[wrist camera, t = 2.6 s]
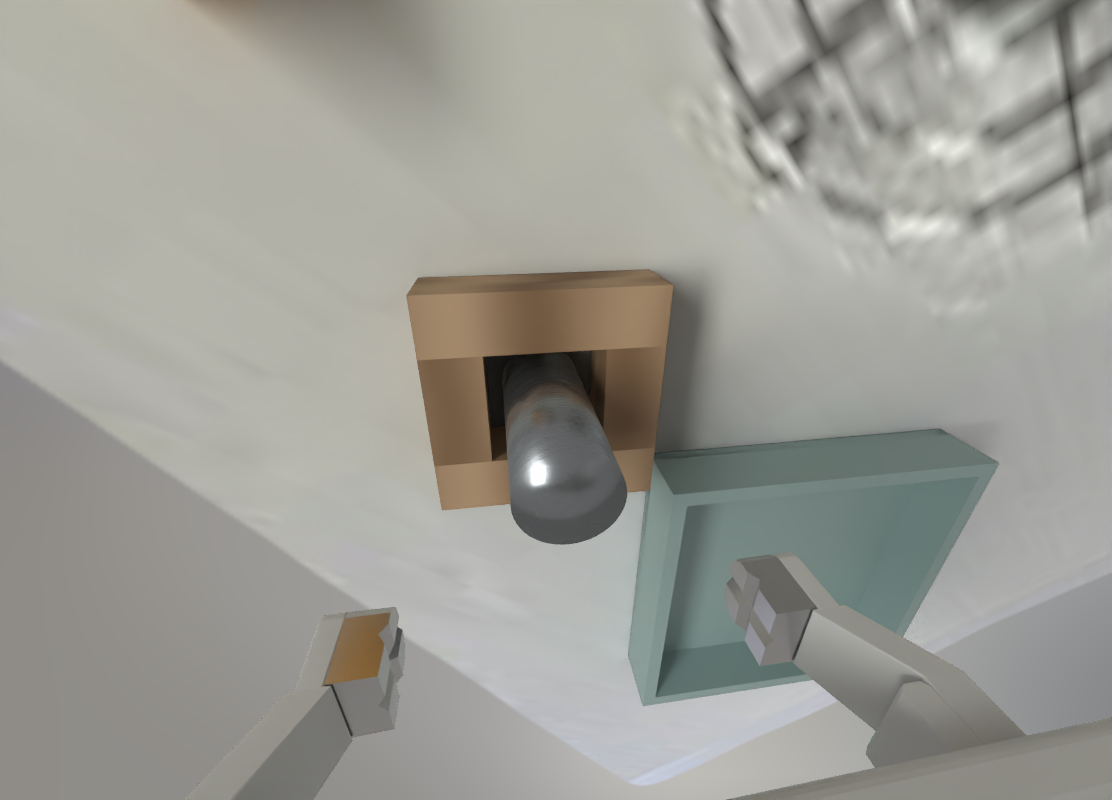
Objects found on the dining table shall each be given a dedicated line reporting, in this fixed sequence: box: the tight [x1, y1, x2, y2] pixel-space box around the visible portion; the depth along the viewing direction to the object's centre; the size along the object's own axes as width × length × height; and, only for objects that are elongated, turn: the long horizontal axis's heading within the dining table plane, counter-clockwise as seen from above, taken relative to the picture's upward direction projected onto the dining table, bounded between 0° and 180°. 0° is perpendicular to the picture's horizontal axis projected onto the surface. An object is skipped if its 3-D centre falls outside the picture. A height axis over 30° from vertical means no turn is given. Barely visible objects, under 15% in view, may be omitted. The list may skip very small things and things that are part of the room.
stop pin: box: [502, 352, 627, 544], centre depth 17 cm, size 4×4×9 cm
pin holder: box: [407, 270, 674, 510], centre depth 20 cm, size 10×10×3 cm
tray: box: [628, 429, 999, 706], centre depth 28 cm, size 18×18×4 cm
